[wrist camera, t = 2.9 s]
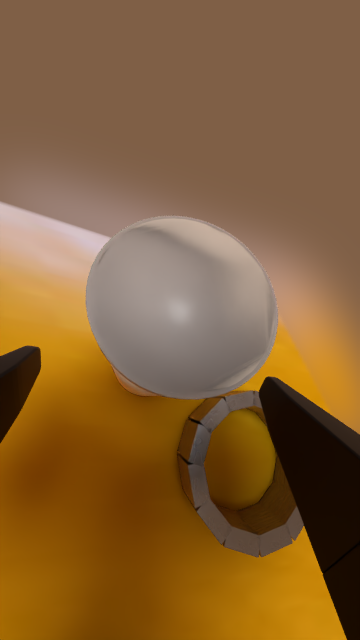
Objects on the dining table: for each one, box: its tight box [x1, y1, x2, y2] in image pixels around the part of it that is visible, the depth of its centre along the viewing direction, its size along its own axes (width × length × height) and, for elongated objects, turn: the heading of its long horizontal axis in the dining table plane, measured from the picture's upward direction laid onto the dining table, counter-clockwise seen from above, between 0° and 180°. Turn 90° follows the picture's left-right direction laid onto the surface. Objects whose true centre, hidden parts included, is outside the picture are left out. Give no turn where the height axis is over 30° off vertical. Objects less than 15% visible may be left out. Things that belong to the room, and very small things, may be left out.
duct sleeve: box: [86, 216, 278, 399], centre depth 12 cm, size 5×5×13 cm
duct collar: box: [177, 391, 304, 557], centre depth 16 cm, size 9×9×3 cm
